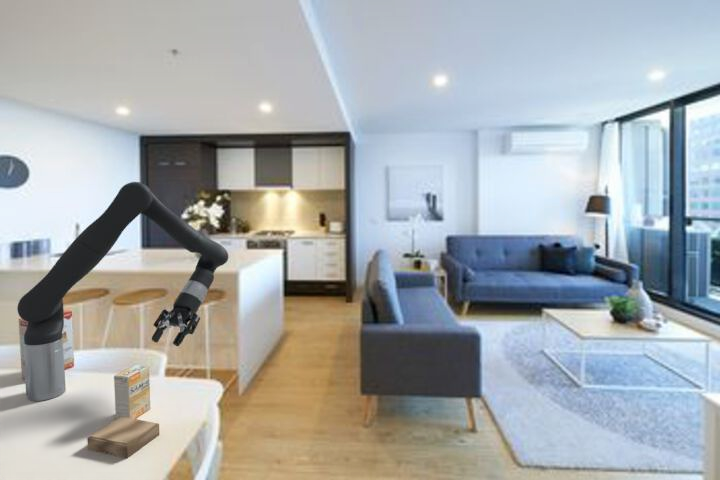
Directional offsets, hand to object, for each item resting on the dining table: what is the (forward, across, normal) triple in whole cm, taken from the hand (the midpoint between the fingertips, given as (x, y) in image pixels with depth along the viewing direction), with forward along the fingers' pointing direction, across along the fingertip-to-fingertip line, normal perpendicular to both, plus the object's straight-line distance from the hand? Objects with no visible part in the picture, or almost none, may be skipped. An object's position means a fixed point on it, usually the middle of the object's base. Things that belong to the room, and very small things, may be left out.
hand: (164, 343), depth 124 cm
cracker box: (+14, -51, +10) cm, 54 cm away
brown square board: (+27, +9, -4) cm, 29 cm away
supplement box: (+20, 0, +4) cm, 21 cm away
